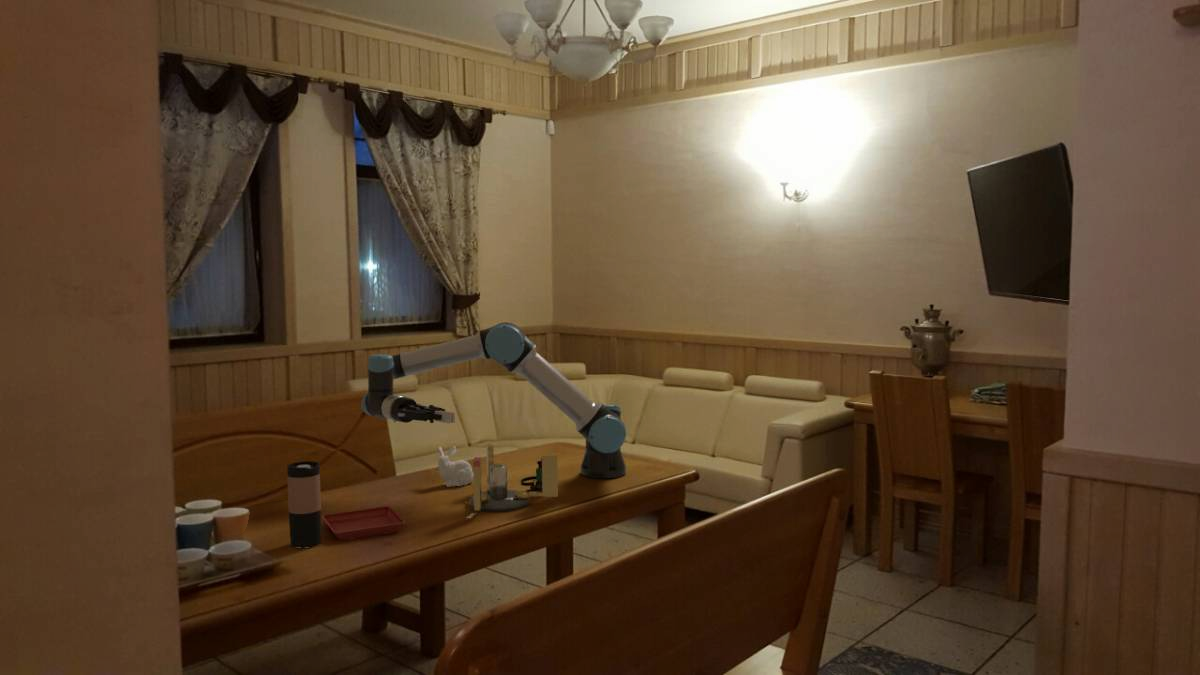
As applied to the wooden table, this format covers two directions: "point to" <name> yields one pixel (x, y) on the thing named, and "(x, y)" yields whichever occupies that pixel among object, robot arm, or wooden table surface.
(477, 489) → the beige u-shaped piece
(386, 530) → the plant saucer
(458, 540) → the wooden table surface
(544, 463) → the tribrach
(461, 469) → the rabbit
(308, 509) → the travel mug
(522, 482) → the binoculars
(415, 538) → the wooden table surface
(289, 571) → the wooden table surface
